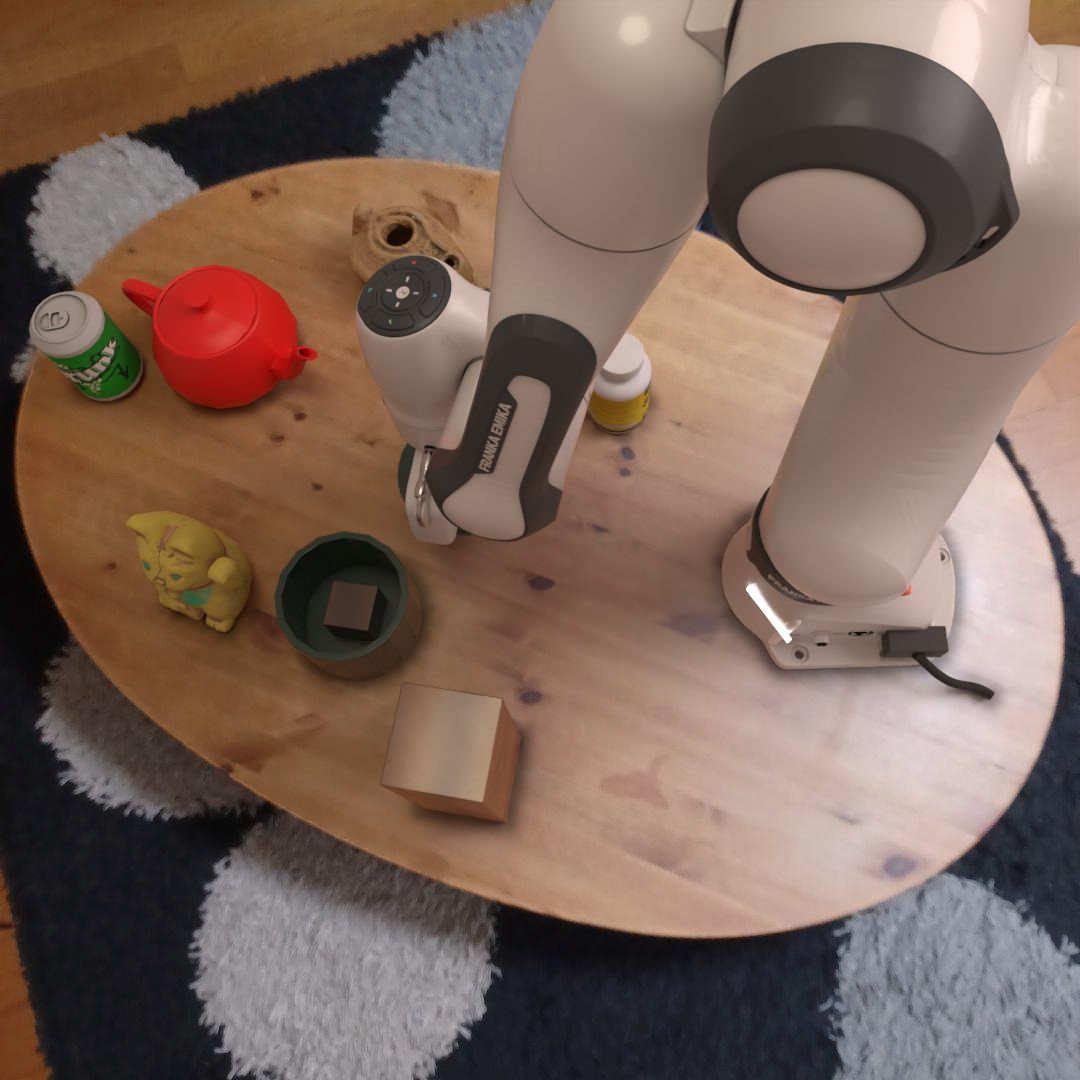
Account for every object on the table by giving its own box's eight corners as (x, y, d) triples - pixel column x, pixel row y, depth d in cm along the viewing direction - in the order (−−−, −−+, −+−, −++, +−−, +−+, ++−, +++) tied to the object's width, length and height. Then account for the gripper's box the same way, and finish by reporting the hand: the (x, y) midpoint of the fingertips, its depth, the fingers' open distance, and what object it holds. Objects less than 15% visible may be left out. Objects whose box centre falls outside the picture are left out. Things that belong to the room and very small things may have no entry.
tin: (434, 570, 103) (420, 542, 95) (408, 689, 99) (391, 670, 91) (317, 552, 104) (293, 523, 96) (286, 669, 100) (259, 649, 92)
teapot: (112, 375, 112) (57, 316, 101) (187, 266, 117) (142, 198, 105) (304, 460, 108) (269, 408, 96) (374, 343, 112) (349, 280, 100)
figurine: (153, 604, 103) (83, 557, 89) (197, 530, 105) (135, 473, 91) (248, 647, 101) (191, 605, 87) (290, 570, 103) (242, 518, 89)
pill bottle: (642, 440, 106) (647, 387, 95) (582, 430, 107) (580, 377, 96) (652, 386, 108) (658, 328, 97) (593, 377, 109) (593, 319, 98)
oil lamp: (461, 328, 112) (452, 287, 104) (339, 293, 114) (321, 250, 107) (496, 249, 115) (489, 203, 108) (376, 216, 118) (361, 169, 110)
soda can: (80, 352, 114) (23, 292, 102) (145, 340, 114) (96, 278, 102) (81, 411, 111) (23, 356, 100) (149, 398, 111) (98, 342, 100)
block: (387, 599, 101) (378, 586, 97) (377, 642, 100) (368, 631, 96) (344, 593, 102) (333, 579, 97) (334, 636, 100) (322, 624, 96)
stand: (521, 737, 96) (502, 697, 78) (506, 822, 94) (483, 803, 75) (440, 723, 97) (402, 681, 78) (422, 808, 95) (379, 785, 76)
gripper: (452, 517, 81) (475, 571, 94) (498, 302, 88) (514, 379, 101) (377, 507, 82) (410, 562, 95) (428, 294, 89) (453, 372, 102)
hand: (464, 466), depth 98 cm, fingers closed on tin lid, 2 cm apart
